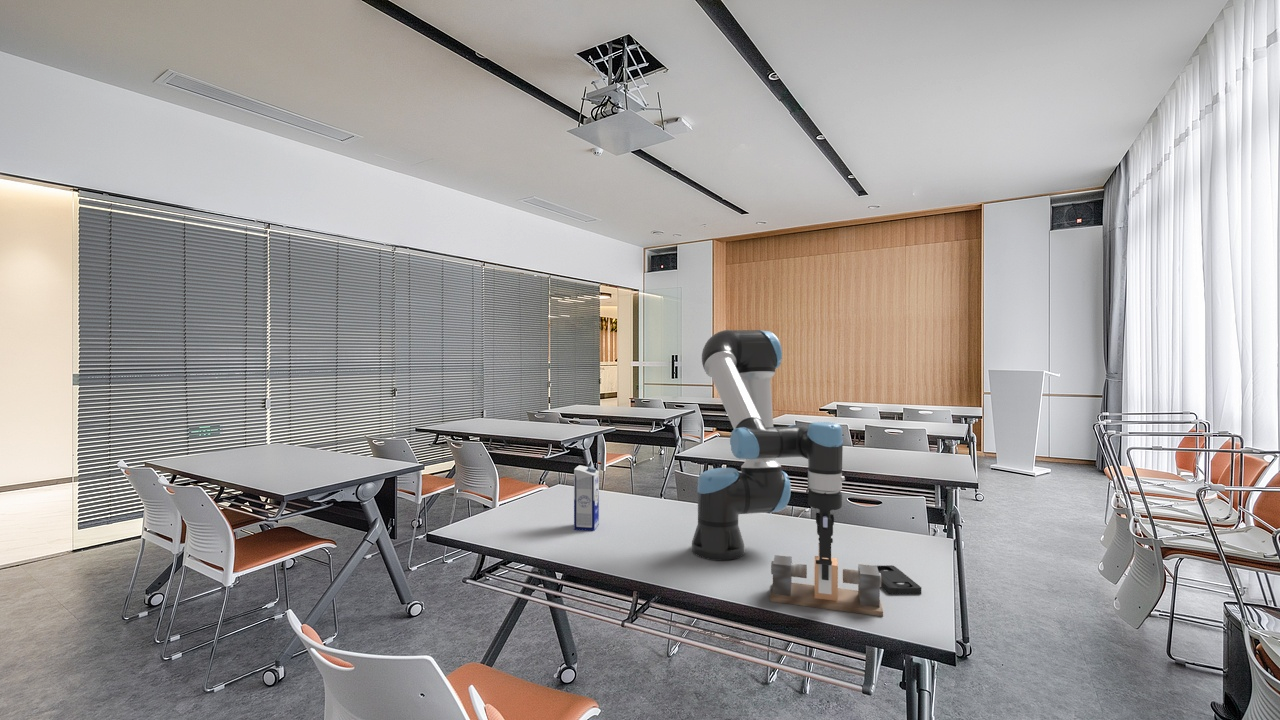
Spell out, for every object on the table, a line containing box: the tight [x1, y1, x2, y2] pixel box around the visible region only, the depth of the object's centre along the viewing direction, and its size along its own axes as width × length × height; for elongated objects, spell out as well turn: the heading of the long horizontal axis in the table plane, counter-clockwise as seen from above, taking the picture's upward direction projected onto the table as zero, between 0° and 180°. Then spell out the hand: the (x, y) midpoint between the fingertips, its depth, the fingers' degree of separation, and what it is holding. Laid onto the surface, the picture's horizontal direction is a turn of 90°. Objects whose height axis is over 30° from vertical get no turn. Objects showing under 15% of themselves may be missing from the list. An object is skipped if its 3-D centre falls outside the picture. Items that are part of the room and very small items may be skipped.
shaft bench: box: [769, 554, 884, 617], centre depth 129 cm, size 24×10×8 cm, turn 72°
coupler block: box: [814, 555, 839, 601], centre depth 129 cm, size 5×5×8 cm
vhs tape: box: [876, 564, 922, 595], centre depth 139 cm, size 14×8×2 cm, turn 1°
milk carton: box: [573, 464, 600, 532], centre depth 183 cm, size 7×7×20 cm
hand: (824, 581), depth 129 cm, fingers open, 13 cm apart
